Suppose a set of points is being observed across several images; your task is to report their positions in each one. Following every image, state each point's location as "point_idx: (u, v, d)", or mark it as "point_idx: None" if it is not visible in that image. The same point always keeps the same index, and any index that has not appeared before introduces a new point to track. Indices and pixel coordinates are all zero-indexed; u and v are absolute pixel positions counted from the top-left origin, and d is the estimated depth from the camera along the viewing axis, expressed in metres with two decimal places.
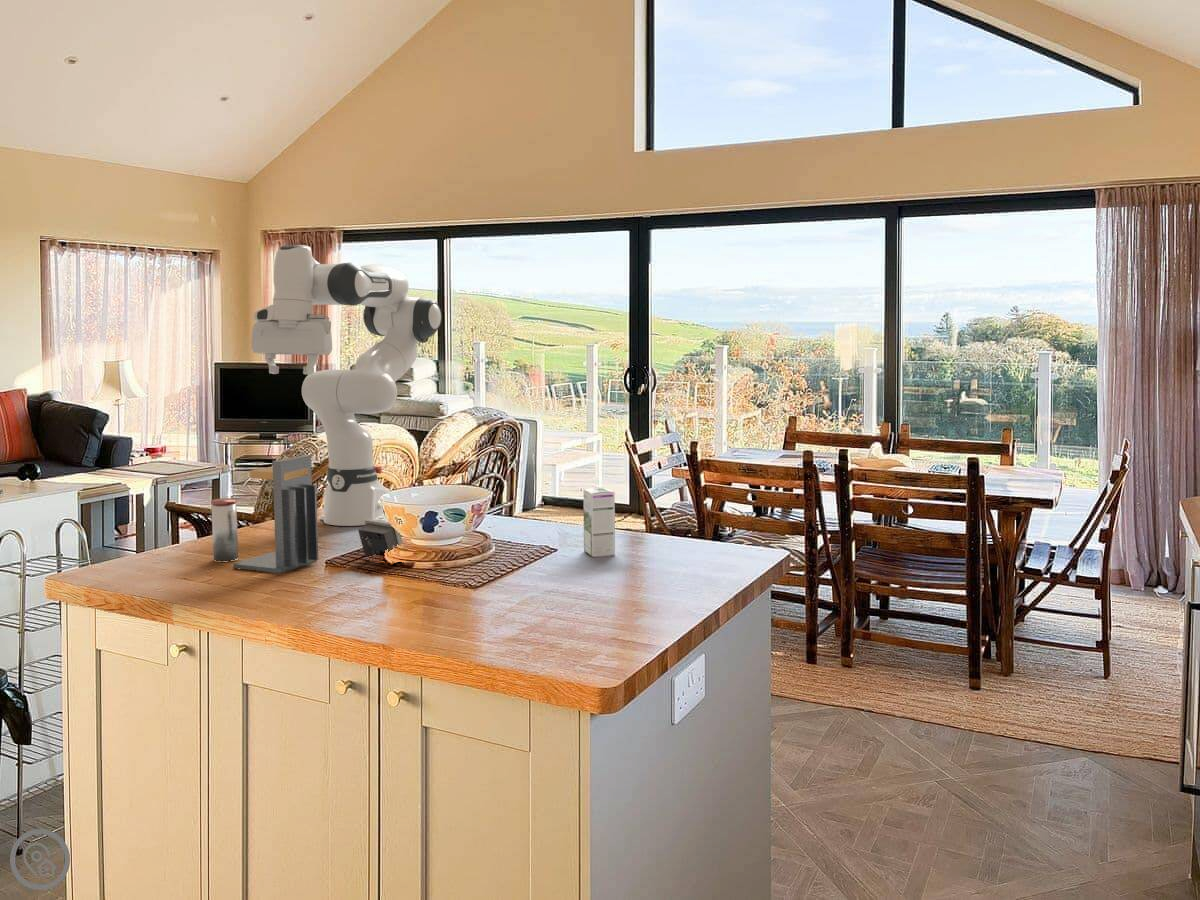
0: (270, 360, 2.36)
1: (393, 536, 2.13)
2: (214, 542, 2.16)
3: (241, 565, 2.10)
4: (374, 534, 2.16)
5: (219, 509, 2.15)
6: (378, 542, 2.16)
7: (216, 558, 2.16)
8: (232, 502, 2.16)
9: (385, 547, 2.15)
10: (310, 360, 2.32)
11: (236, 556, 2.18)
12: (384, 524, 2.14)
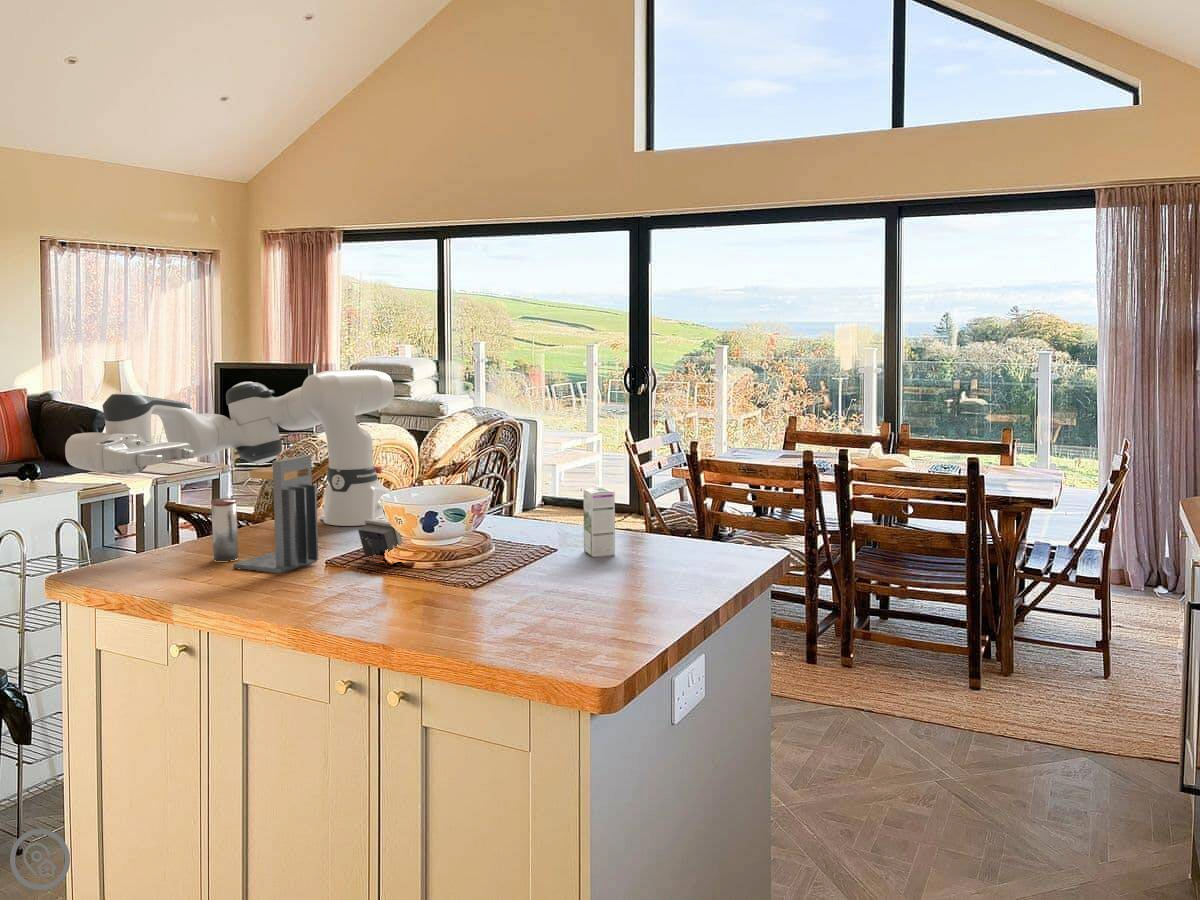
0: None
1: (393, 536, 2.13)
2: (214, 542, 2.16)
3: (241, 565, 2.10)
4: (374, 534, 2.16)
5: (219, 509, 2.15)
6: (378, 542, 2.16)
7: (216, 558, 2.16)
8: (232, 502, 2.16)
9: (385, 547, 2.15)
10: (184, 448, 2.27)
11: (236, 556, 2.18)
12: (384, 524, 2.14)
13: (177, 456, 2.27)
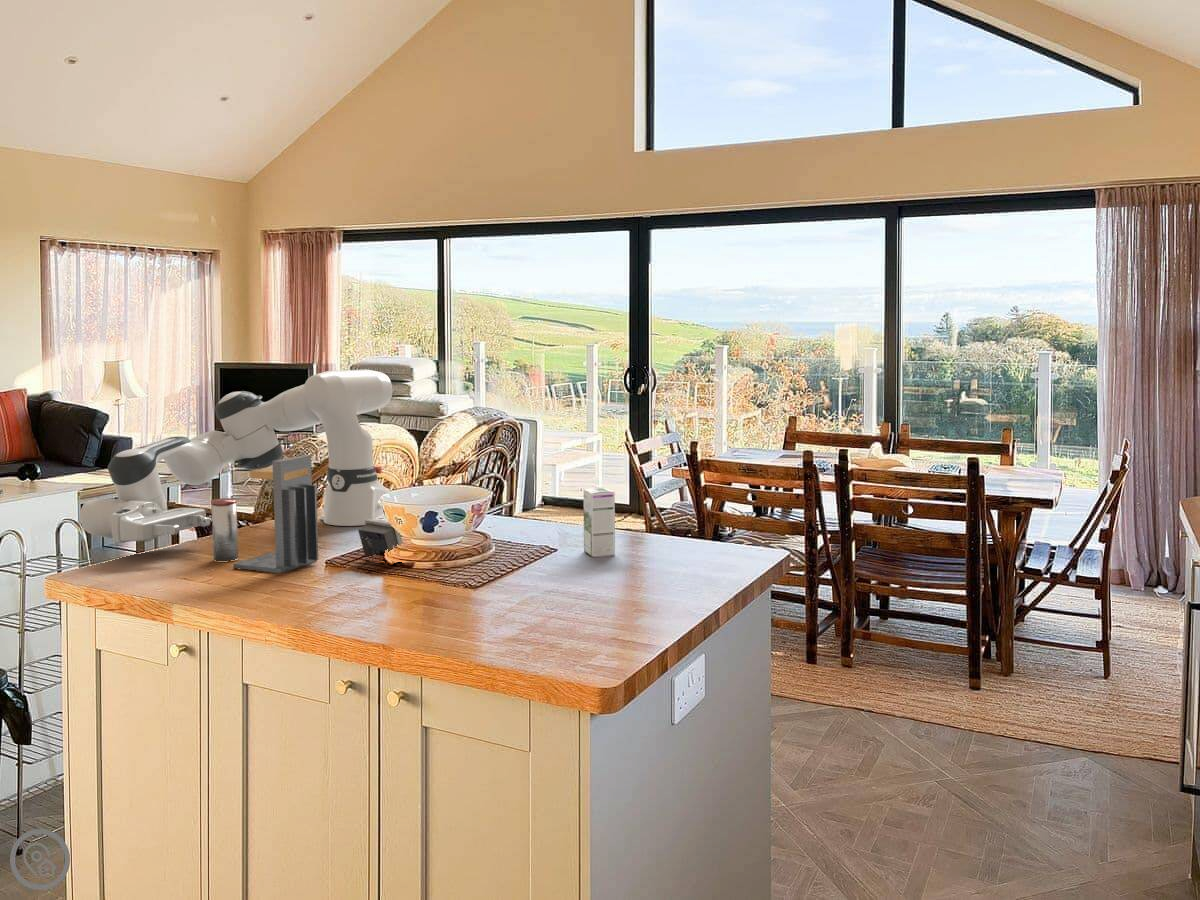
0: None
1: (393, 536, 2.13)
2: (214, 542, 2.16)
3: (241, 565, 2.10)
4: (374, 534, 2.16)
5: (219, 509, 2.15)
6: (378, 542, 2.16)
7: (216, 558, 2.16)
8: (232, 502, 2.16)
9: (385, 547, 2.15)
10: (200, 515, 2.27)
11: (236, 556, 2.18)
12: (384, 524, 2.14)
13: (193, 523, 2.27)
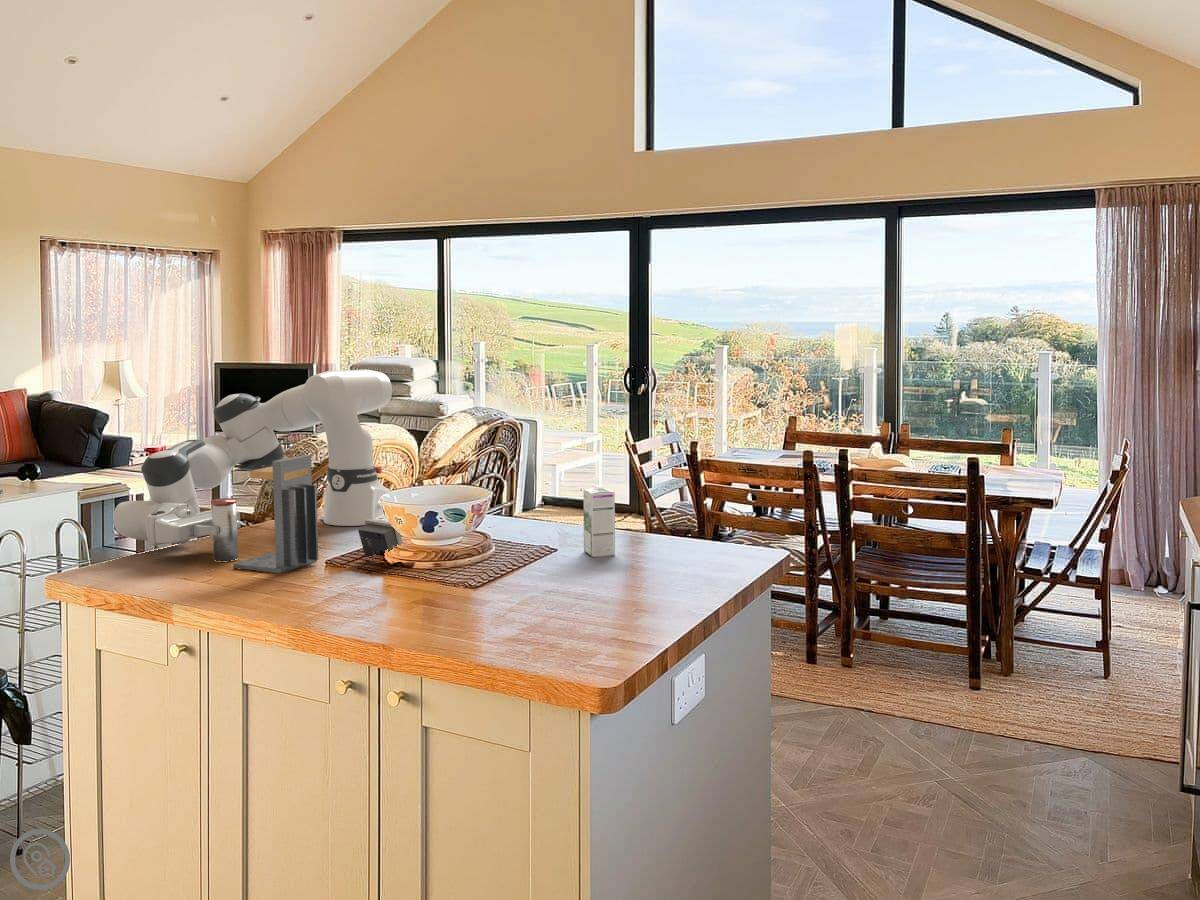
0: None
1: (393, 536, 2.13)
2: (214, 542, 2.16)
3: (241, 565, 2.10)
4: (374, 534, 2.16)
5: (219, 509, 2.15)
6: (378, 542, 2.16)
7: (216, 558, 2.16)
8: (232, 502, 2.16)
9: (385, 547, 2.15)
10: None
11: (236, 556, 2.18)
12: (384, 524, 2.14)
13: None
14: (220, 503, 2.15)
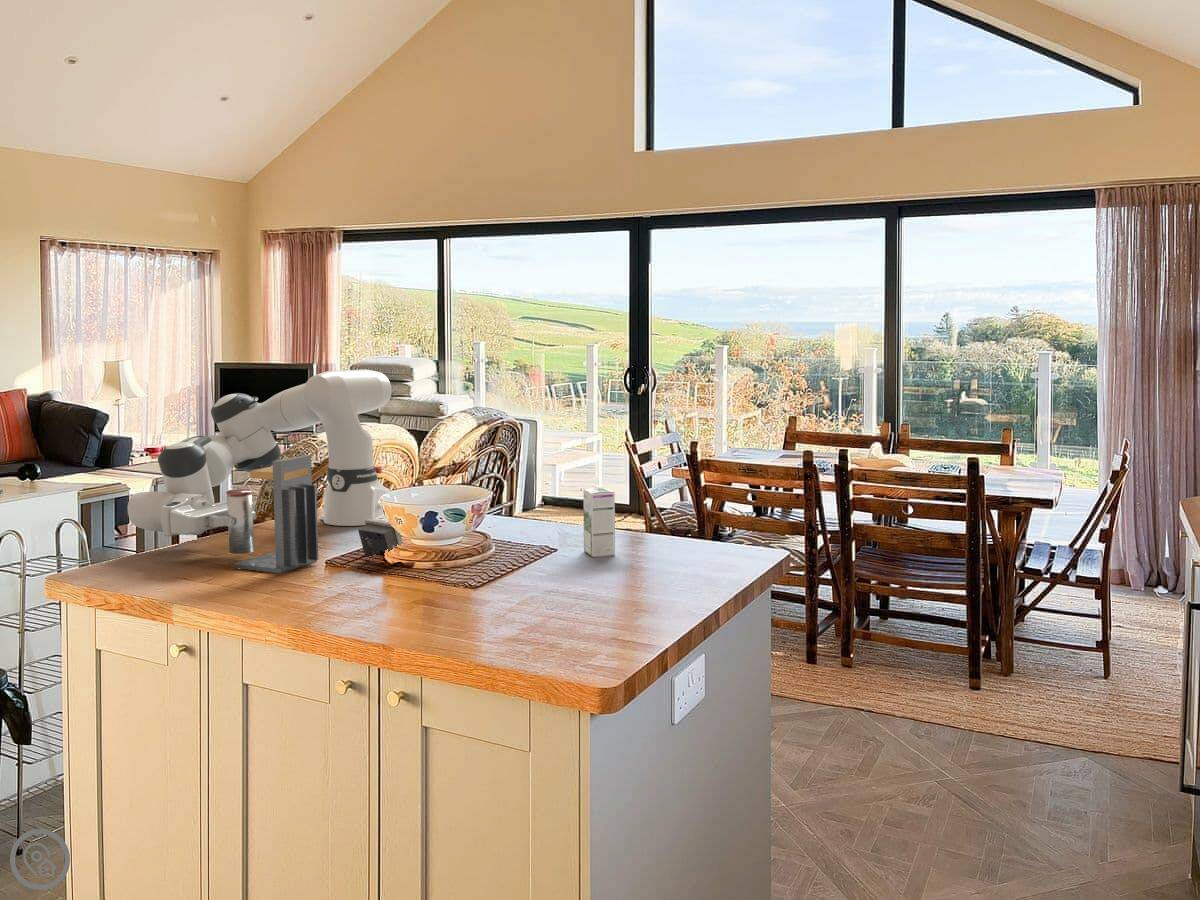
0: None
1: (393, 536, 2.13)
2: (230, 533, 2.14)
3: (241, 565, 2.10)
4: (374, 534, 2.16)
5: (235, 500, 2.12)
6: (378, 542, 2.16)
7: (232, 549, 2.14)
8: (248, 493, 2.14)
9: (385, 547, 2.15)
10: None
11: (252, 547, 2.16)
12: (384, 524, 2.14)
13: None
14: (236, 494, 2.12)
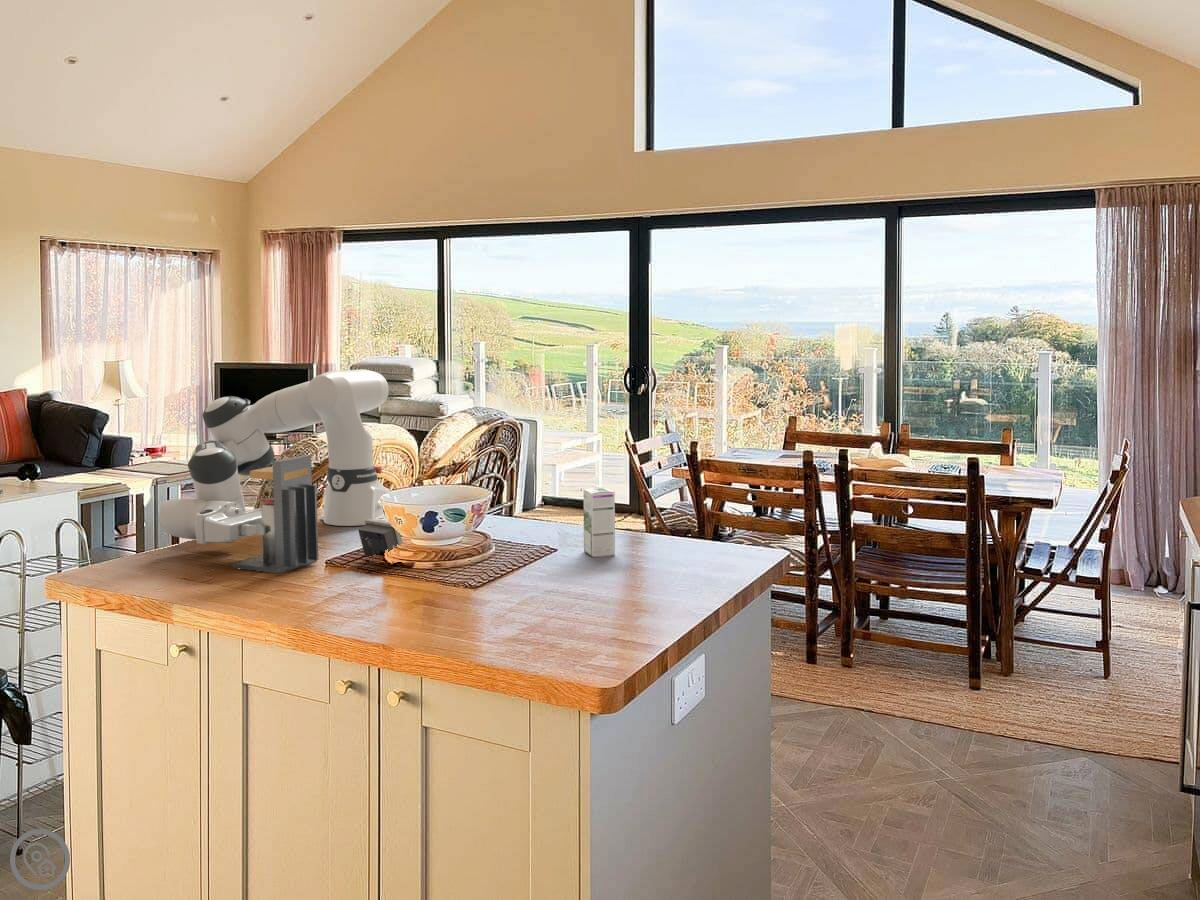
0: None
1: (393, 536, 2.13)
2: (264, 542, 2.12)
3: (241, 565, 2.10)
4: (374, 534, 2.16)
5: (269, 509, 2.10)
6: (378, 542, 2.16)
7: (266, 559, 2.12)
8: None
9: (385, 547, 2.15)
10: None
11: None
12: (384, 524, 2.14)
13: None
14: (270, 502, 2.10)
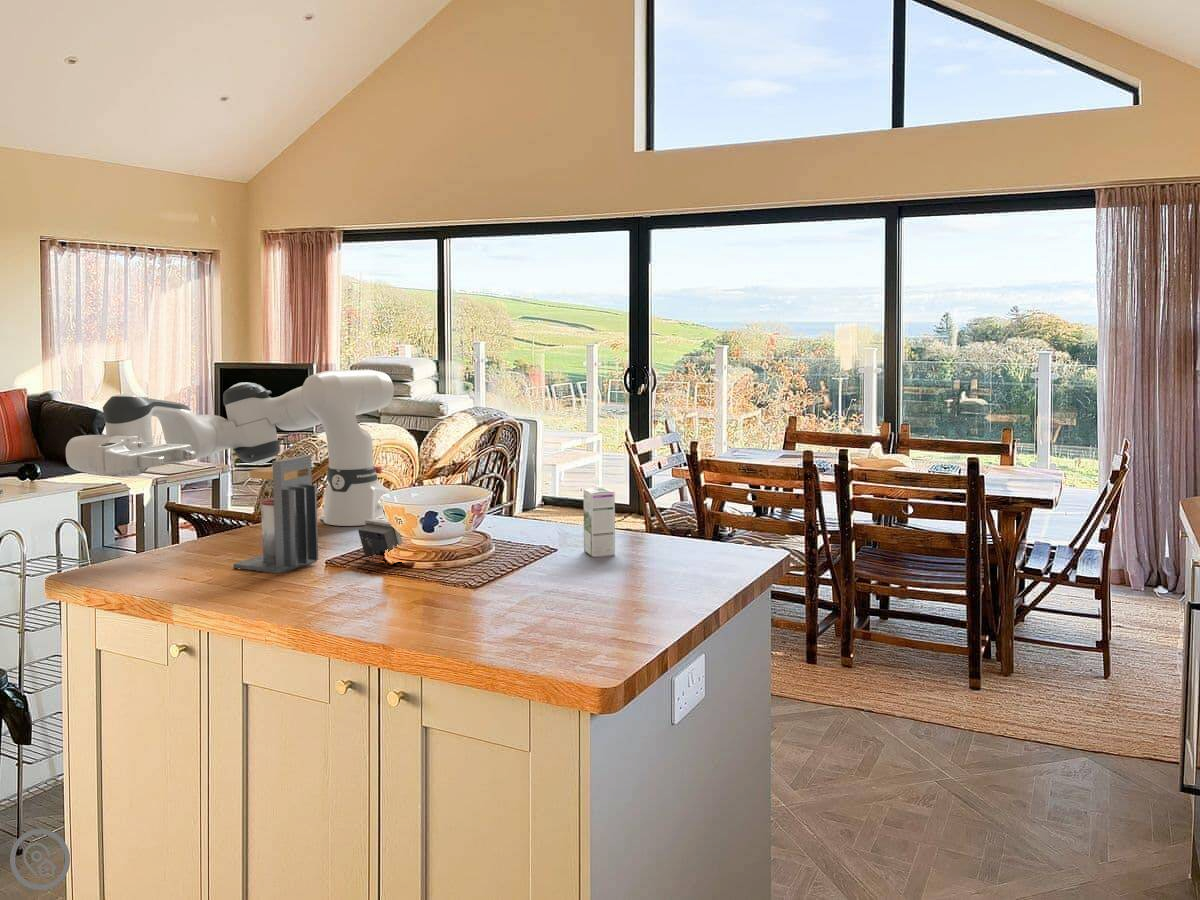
0: None
1: (393, 536, 2.13)
2: (264, 542, 2.12)
3: (241, 565, 2.10)
4: (374, 534, 2.16)
5: (270, 509, 2.10)
6: (378, 542, 2.16)
7: (266, 558, 2.12)
8: None
9: (385, 547, 2.15)
10: (186, 450, 2.25)
11: None
12: (384, 524, 2.14)
13: (179, 458, 2.25)
14: (270, 502, 2.10)
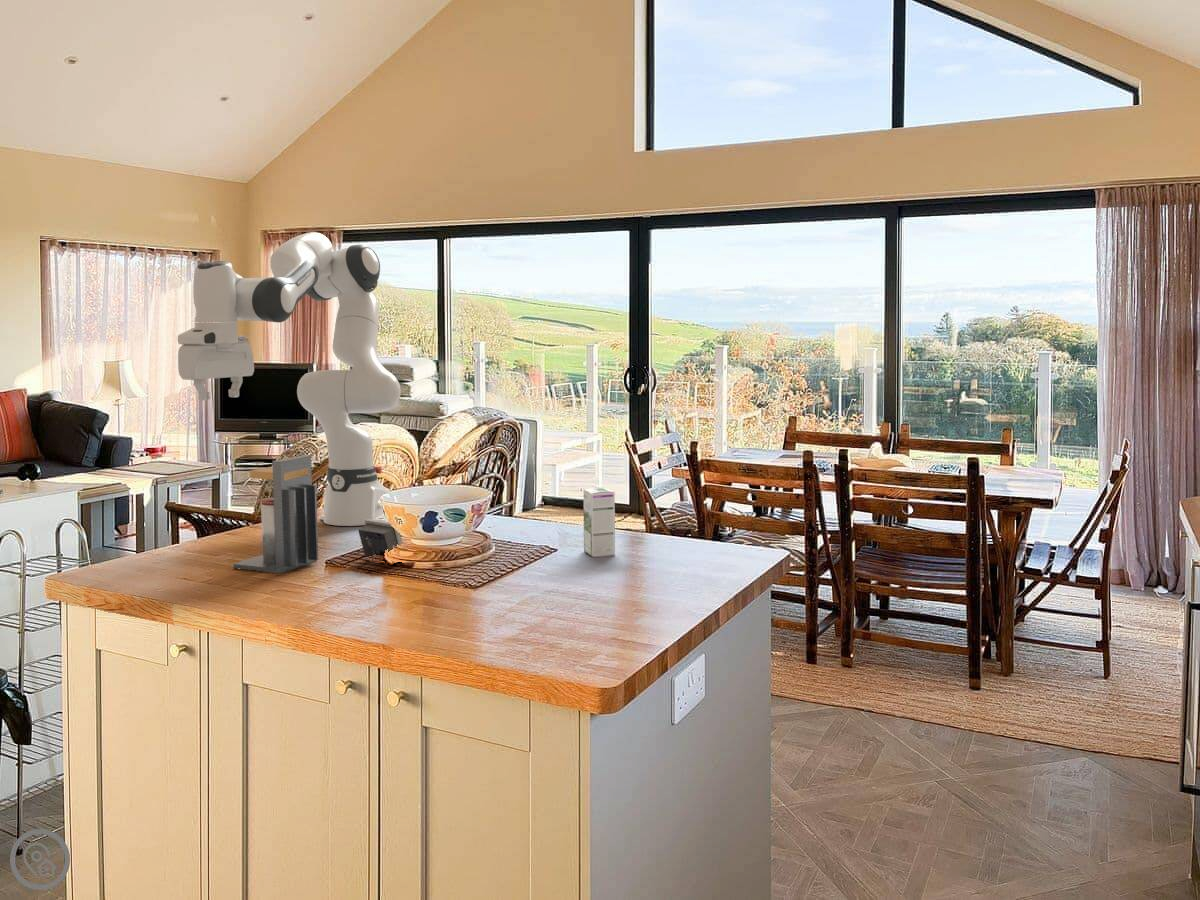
0: None
1: (393, 536, 2.13)
2: (264, 542, 2.12)
3: (241, 565, 2.10)
4: (374, 534, 2.16)
5: (269, 509, 2.10)
6: (378, 542, 2.16)
7: (266, 559, 2.12)
8: None
9: (385, 547, 2.15)
10: (240, 383, 2.29)
11: None
12: (384, 524, 2.14)
13: (231, 376, 2.29)
14: (270, 502, 2.10)
